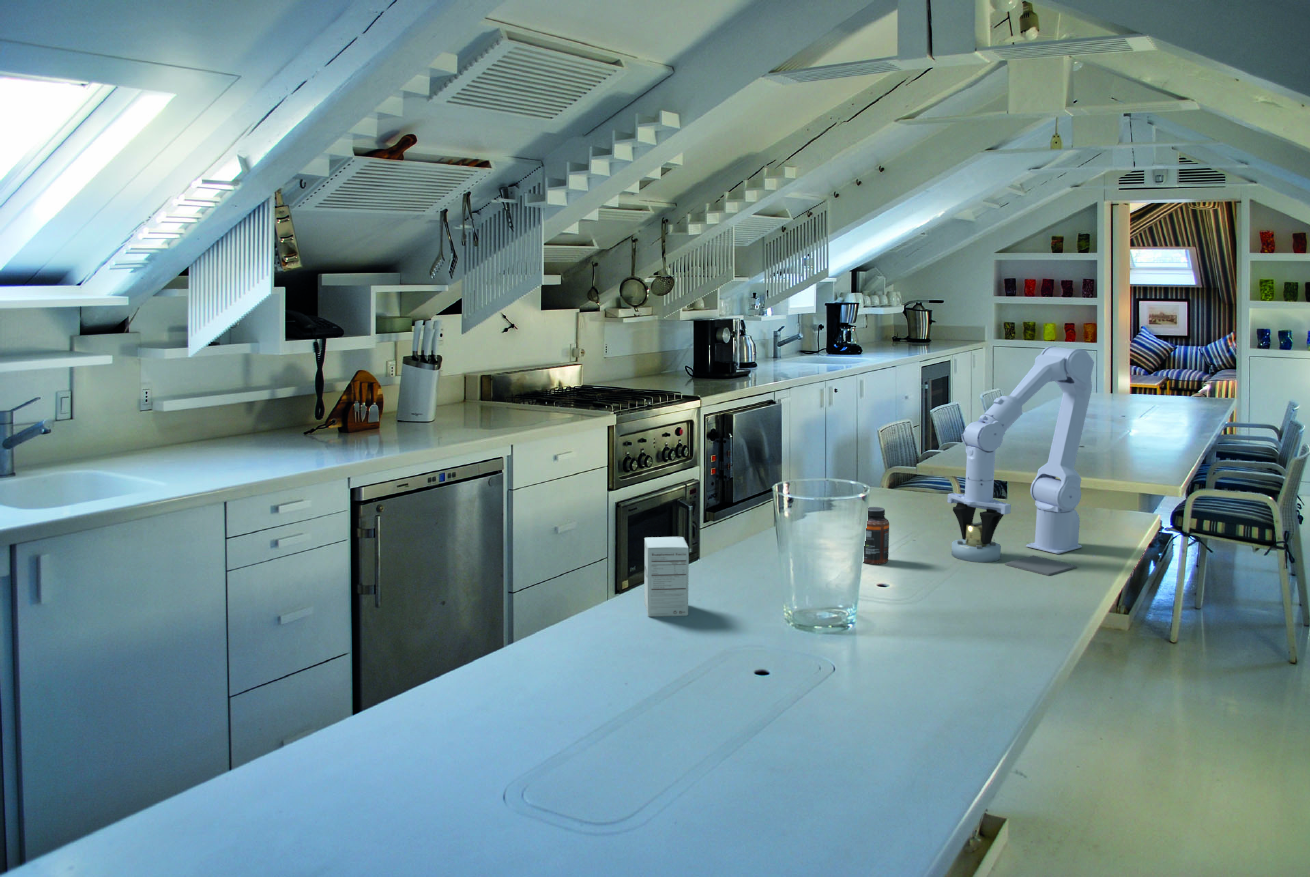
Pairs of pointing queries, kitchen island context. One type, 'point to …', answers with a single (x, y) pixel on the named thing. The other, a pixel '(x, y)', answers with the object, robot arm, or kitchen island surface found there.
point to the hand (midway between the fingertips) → (976, 541)
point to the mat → (1041, 565)
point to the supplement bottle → (876, 537)
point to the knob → (974, 534)
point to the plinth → (976, 551)
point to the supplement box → (666, 576)
